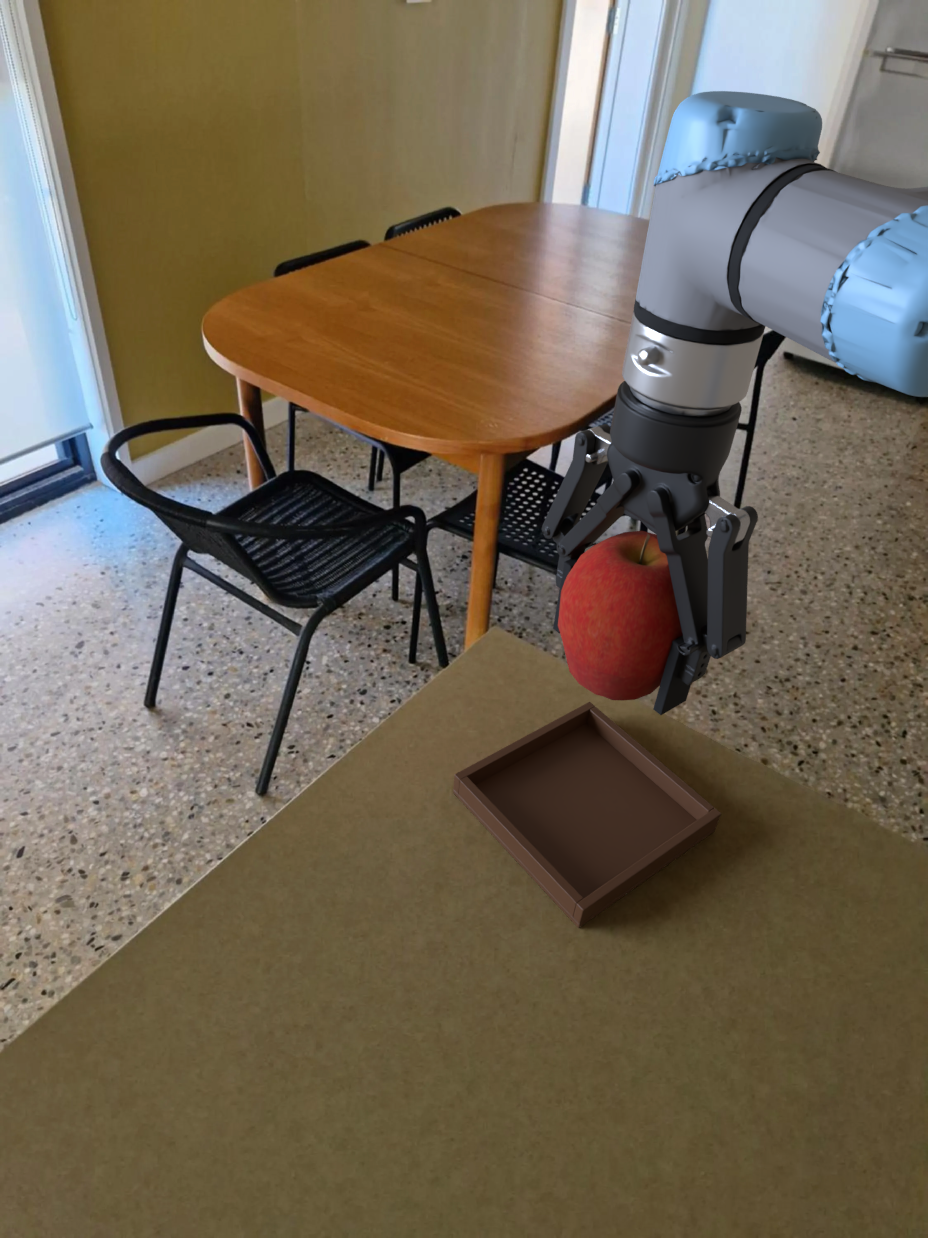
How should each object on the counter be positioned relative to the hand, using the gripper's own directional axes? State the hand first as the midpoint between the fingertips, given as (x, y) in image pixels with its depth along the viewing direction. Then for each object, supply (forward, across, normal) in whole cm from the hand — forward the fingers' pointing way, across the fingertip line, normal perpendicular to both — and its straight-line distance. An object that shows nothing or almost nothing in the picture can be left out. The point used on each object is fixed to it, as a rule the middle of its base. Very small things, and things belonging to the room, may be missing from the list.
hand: (616, 663), depth 68 cm
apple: (+2, 0, 0) cm, 2 cm away
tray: (+18, 0, 0) cm, 18 cm away
